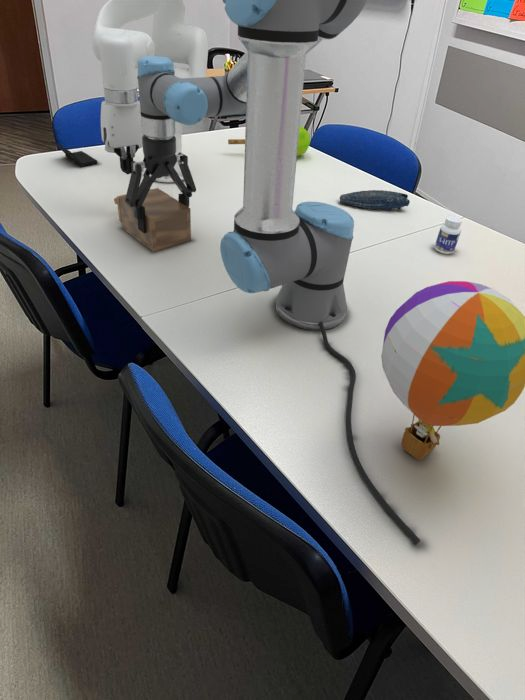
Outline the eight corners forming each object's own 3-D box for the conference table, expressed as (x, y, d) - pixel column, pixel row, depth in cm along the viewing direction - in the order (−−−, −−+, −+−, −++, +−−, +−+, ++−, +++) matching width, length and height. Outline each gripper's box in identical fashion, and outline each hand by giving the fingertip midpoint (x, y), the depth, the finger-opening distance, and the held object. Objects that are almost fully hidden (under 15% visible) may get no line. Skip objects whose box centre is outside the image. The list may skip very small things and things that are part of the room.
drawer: (109, 213, 140) (106, 189, 136) (141, 205, 146) (140, 182, 142) (146, 241, 130) (144, 215, 125) (179, 231, 135) (179, 207, 131)
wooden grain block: (122, 228, 136) (119, 196, 131) (159, 219, 142) (157, 187, 137) (153, 252, 128) (150, 218, 122) (190, 240, 134) (190, 208, 128)
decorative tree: (225, 119, 187) (305, 119, 192) (225, 149, 194) (302, 148, 199) (232, 134, 173) (318, 133, 179) (232, 165, 180) (315, 164, 185)
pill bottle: (433, 251, 139) (442, 220, 133) (435, 243, 143) (444, 213, 137) (453, 256, 138) (464, 225, 132) (454, 247, 142) (465, 217, 136)
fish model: (408, 214, 157) (412, 198, 153) (339, 207, 158) (341, 191, 154) (406, 206, 162) (410, 190, 159) (339, 199, 163) (341, 183, 160)
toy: (330, 441, 84) (367, 281, 65) (404, 391, 94) (454, 241, 75) (431, 526, 73) (512, 363, 54) (502, 459, 83) (589, 303, 64)
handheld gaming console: (102, 156, 171) (80, 134, 163) (90, 174, 170) (68, 153, 161) (81, 152, 177) (60, 131, 169) (70, 169, 176) (48, 148, 168)
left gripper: (140, 89, 129) (145, 163, 141) (83, 95, 121) (94, 172, 132) (156, 96, 125) (160, 172, 136) (99, 102, 117) (108, 182, 128)
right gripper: (192, 124, 125) (193, 209, 139) (102, 137, 112) (113, 230, 126) (211, 132, 121) (210, 220, 135) (119, 148, 108) (128, 243, 122)
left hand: (127, 172), depth 134 cm, fingers closed
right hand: (163, 225), depth 130 cm, fingers closed on wooden grain block, 11 cm apart
